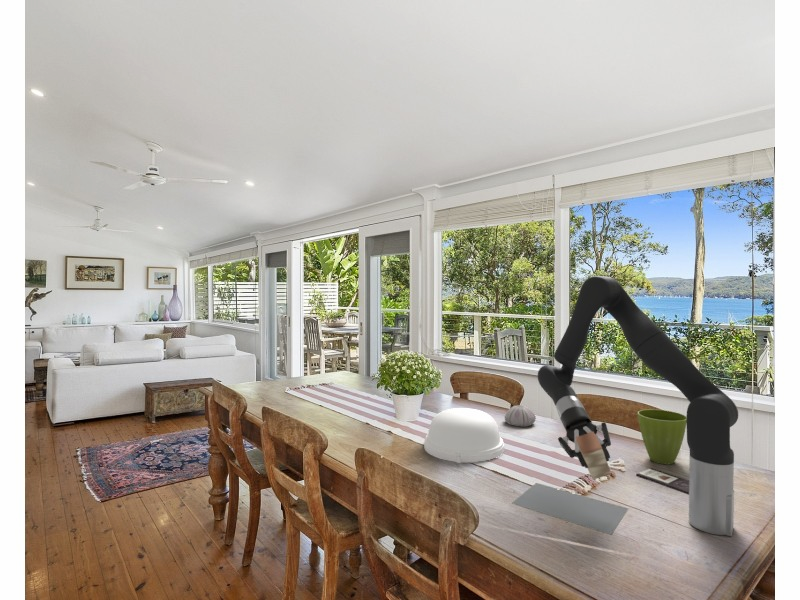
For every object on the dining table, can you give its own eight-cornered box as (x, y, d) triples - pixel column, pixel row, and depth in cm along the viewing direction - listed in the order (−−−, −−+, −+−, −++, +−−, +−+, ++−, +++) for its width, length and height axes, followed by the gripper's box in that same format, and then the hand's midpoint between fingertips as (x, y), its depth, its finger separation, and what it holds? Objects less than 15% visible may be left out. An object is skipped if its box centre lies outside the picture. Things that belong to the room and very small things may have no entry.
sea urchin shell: (524, 430, 194) (524, 411, 194) (498, 423, 204) (498, 405, 204) (541, 424, 203) (541, 406, 203) (515, 417, 213) (515, 400, 213)
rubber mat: (628, 510, 124) (628, 508, 124) (611, 536, 111) (611, 534, 111) (536, 484, 141) (536, 482, 141) (511, 504, 128) (511, 503, 128)
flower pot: (631, 460, 160) (631, 415, 159) (644, 449, 171) (644, 406, 170) (680, 472, 149) (681, 423, 149) (690, 459, 160) (691, 414, 160)
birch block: (603, 458, 127) (593, 431, 121) (611, 474, 122) (601, 446, 117) (585, 464, 128) (574, 437, 122) (592, 479, 123) (582, 452, 118)
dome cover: (432, 432, 193) (432, 398, 192) (505, 437, 185) (505, 403, 185) (416, 459, 162) (416, 420, 161) (503, 467, 154) (503, 426, 154)
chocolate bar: (697, 495, 132) (636, 474, 147) (697, 498, 132) (636, 476, 147) (712, 487, 137) (651, 467, 152) (712, 491, 137) (651, 470, 152)
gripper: (545, 415, 134) (566, 463, 119) (594, 398, 131) (621, 444, 117) (552, 431, 137) (573, 479, 123) (600, 415, 135) (627, 462, 120)
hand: (596, 462), depth 120 cm, fingers closed on birch block, 5 cm apart
